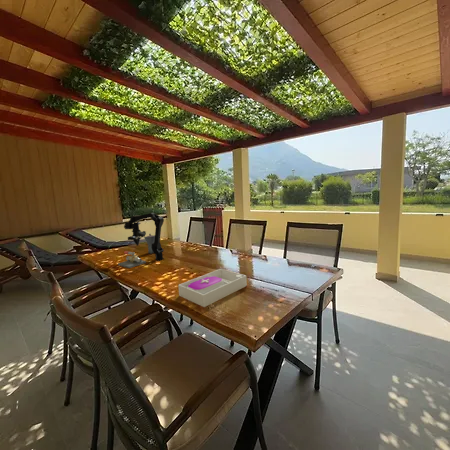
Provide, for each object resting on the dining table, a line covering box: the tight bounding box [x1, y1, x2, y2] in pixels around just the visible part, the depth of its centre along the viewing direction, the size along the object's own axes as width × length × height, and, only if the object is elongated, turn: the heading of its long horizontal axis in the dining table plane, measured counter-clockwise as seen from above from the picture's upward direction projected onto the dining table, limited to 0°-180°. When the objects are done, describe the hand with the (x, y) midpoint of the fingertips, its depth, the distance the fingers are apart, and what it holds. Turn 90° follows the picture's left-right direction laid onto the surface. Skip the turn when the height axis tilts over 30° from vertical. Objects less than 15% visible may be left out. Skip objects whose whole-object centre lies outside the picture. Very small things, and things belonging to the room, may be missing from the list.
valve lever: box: [123, 250, 135, 256], centre depth 213 cm, size 13×2×2 cm, turn 54°
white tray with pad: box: [177, 268, 248, 308], centre depth 144 cm, size 22×35×7 cm, turn 136°
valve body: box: [125, 255, 142, 263], centre depth 211 cm, size 18×5×6 cm, turn 53°
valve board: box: [117, 259, 147, 269], centre depth 210 cm, size 18×16×2 cm
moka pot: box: [143, 233, 155, 255], centre depth 246 cm, size 10×15×20 cm, turn 115°
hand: (137, 245), depth 224 cm, fingers closed
